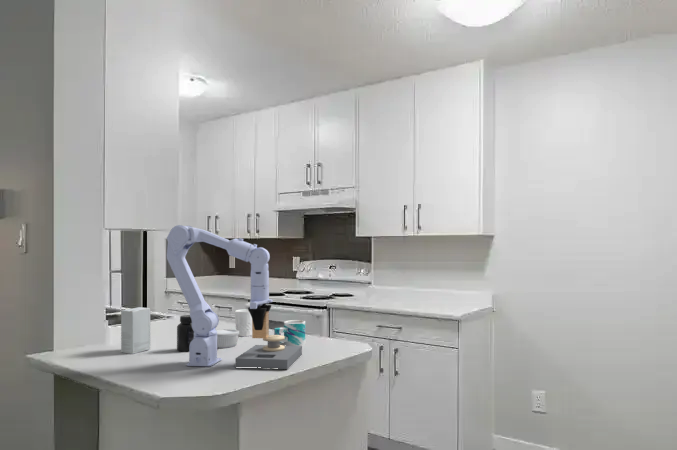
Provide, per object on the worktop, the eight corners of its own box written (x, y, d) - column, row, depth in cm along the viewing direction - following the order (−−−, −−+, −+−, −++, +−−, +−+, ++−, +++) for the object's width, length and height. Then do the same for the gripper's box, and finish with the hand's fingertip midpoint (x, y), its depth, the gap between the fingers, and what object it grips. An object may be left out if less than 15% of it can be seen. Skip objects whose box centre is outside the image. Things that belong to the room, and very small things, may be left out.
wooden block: (266, 338, 161) (266, 312, 162) (252, 338, 162) (252, 312, 162) (268, 336, 164) (268, 311, 165) (255, 336, 165) (254, 311, 165)
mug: (309, 344, 190) (309, 321, 191) (281, 349, 183) (281, 325, 183) (297, 341, 197) (297, 319, 197) (270, 345, 190) (270, 322, 190)
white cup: (231, 336, 207) (231, 311, 208) (240, 333, 215) (240, 308, 215) (249, 337, 205) (249, 312, 205) (257, 334, 213) (257, 309, 213)
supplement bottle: (172, 351, 181) (172, 316, 181) (186, 347, 187) (186, 314, 187) (187, 352, 177) (187, 317, 178) (201, 349, 183) (201, 315, 184)
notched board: (287, 369, 153) (287, 346, 153) (235, 368, 156) (235, 344, 156) (301, 355, 173) (301, 334, 173) (255, 353, 175) (255, 333, 175)
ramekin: (244, 343, 193) (244, 329, 194) (230, 349, 183) (230, 334, 183) (217, 342, 196) (217, 328, 197) (201, 348, 186) (201, 333, 186)
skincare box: (139, 348, 186) (139, 306, 186) (151, 349, 183) (151, 307, 183) (119, 352, 178) (120, 309, 179) (132, 354, 175) (132, 310, 176)
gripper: (265, 287, 156) (266, 333, 156) (277, 283, 170) (278, 325, 170) (243, 287, 157) (243, 332, 156) (257, 283, 171) (257, 325, 171)
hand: (259, 329), depth 163 cm, fingers closed on wooden block, 3 cm apart
